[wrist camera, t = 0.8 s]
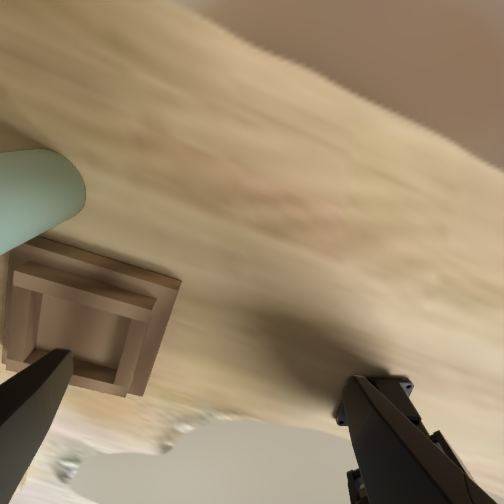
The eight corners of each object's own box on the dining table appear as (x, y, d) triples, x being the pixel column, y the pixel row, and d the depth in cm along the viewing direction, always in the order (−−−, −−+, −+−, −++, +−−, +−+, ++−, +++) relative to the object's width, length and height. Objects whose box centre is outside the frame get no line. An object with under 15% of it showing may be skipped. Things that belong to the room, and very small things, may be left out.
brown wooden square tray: (181, 281, 24) (173, 301, 21) (147, 383, 28) (136, 411, 25) (25, 232, 22) (-7, 247, 19) (14, 350, 26) (-13, 377, 23)
